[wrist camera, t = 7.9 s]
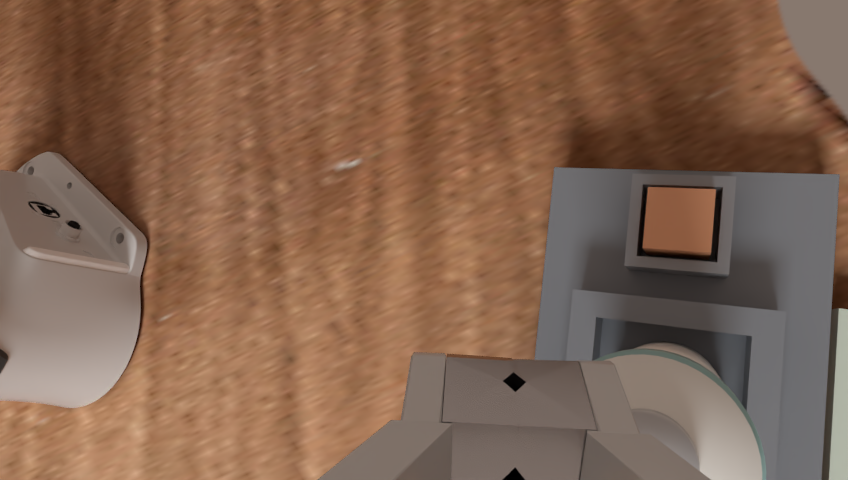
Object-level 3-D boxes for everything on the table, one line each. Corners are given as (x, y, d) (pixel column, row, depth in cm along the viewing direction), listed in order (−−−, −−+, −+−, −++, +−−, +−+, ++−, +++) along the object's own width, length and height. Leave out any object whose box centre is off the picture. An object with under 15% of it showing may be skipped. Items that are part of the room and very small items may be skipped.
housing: (532, 494, 34) (506, 523, 29) (564, 179, 36) (544, 155, 31) (803, 561, 29) (827, 610, 24) (825, 188, 30) (853, 160, 25)
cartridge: (588, 387, 31) (487, 448, 15) (665, 316, 30) (641, 305, 14) (666, 473, 29) (642, 641, 13) (752, 400, 28) (833, 492, 12)
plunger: (646, 255, 30) (642, 247, 27) (651, 199, 30) (648, 186, 28) (708, 259, 29) (711, 252, 26) (713, 202, 29) (715, 189, 27)
